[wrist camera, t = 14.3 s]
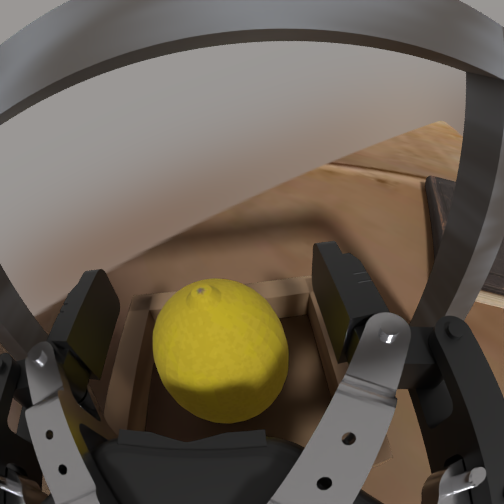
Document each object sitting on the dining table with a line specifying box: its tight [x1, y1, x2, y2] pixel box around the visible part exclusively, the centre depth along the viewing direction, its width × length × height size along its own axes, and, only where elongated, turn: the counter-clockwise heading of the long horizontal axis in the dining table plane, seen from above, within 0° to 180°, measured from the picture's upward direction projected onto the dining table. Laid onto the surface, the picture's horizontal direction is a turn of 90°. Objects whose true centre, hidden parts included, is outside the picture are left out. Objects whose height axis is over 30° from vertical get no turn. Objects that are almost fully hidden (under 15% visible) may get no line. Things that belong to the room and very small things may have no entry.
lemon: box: [153, 279, 289, 423], centre depth 11 cm, size 6×6×8 cm
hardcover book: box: [425, 176, 504, 308], centre depth 21 cm, size 16×23×2 cm
